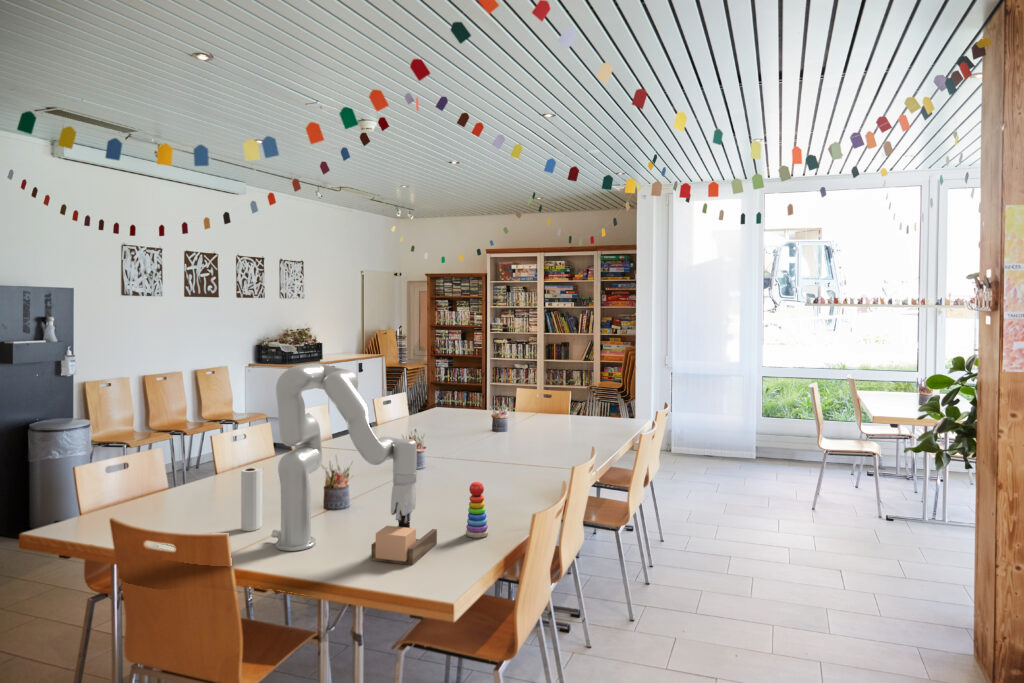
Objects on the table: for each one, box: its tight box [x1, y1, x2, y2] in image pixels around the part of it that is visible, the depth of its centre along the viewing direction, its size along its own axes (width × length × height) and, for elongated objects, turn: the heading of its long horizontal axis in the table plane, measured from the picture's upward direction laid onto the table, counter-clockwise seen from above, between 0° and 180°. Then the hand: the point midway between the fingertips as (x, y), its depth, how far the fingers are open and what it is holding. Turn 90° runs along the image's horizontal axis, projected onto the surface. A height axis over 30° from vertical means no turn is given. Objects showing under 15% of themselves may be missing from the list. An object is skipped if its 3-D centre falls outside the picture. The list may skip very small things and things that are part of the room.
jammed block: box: [375, 525, 417, 561], centre depth 213 cm, size 10×8×8 cm
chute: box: [370, 524, 438, 566], centre depth 221 cm, size 14×20×5 cm
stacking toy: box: [465, 481, 489, 539], centre depth 238 cm, size 8×8×19 cm
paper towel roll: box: [240, 467, 265, 532], centre depth 241 cm, size 7×6×21 cm
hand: (404, 534), depth 219 cm, fingers closed
